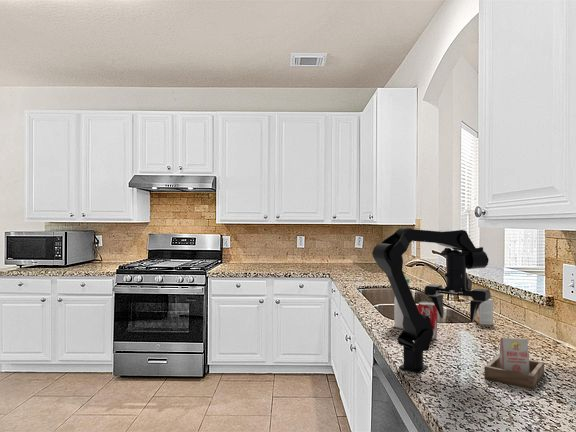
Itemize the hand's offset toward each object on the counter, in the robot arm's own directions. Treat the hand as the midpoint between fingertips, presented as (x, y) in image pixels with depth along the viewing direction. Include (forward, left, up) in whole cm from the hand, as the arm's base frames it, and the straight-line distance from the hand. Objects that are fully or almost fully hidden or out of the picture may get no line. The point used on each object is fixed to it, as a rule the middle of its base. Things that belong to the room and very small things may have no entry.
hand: (456, 319), depth 135 cm
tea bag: (-3, -17, -12) cm, 21 cm away
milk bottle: (+30, +32, -13) cm, 46 cm away
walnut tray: (-3, -17, -13) cm, 22 cm away
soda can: (+20, +18, -13) cm, 30 cm away
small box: (+57, +9, -13) cm, 60 cm away
